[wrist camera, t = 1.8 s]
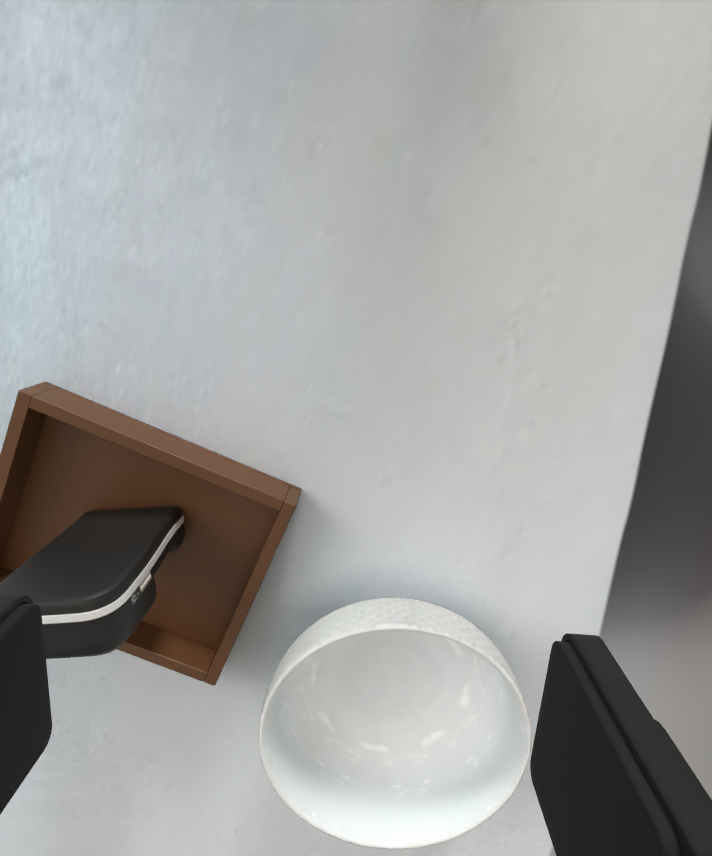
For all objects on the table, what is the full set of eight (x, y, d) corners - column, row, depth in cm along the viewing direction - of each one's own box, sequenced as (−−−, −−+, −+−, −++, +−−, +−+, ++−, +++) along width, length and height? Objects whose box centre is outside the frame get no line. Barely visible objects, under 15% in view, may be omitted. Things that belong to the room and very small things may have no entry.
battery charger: (94, 560, 38) (-17, 676, 27) (83, 509, 37) (-37, 607, 26) (194, 554, 38) (124, 669, 27) (186, 502, 37) (109, 600, 26)
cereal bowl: (343, 524, 37) (338, 579, 31) (550, 628, 39) (589, 702, 32) (236, 705, 42) (210, 790, 35) (427, 792, 43) (439, 889, 37)
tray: (-11, 569, 39) (-39, 591, 36) (45, 381, 35) (18, 390, 32) (224, 659, 40) (214, 686, 38) (301, 488, 37) (296, 505, 34)
